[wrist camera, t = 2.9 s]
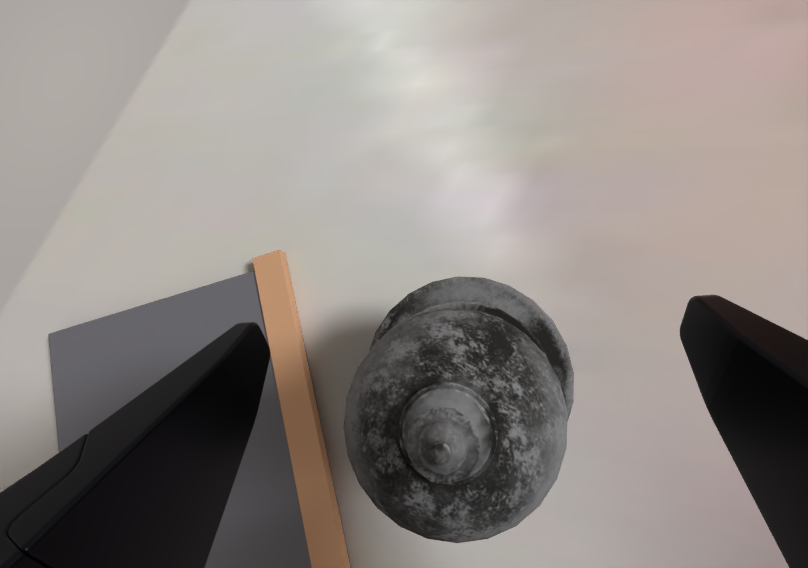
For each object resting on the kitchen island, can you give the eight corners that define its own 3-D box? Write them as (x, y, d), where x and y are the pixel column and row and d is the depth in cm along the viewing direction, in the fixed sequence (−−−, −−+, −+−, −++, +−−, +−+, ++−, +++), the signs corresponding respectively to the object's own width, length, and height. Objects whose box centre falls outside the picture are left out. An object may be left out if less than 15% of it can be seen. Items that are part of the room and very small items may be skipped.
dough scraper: (284, 252, 17) (279, 249, 17) (356, 593, 15) (352, 602, 14) (56, 323, 18) (45, 323, 18) (86, 645, 16) (74, 655, 16)
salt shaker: (358, 376, 16) (23, 463, 4) (458, 260, 16) (410, 18, 4) (477, 491, 14) (482, 1104, 3) (586, 365, 14) (1053, 446, 3)
